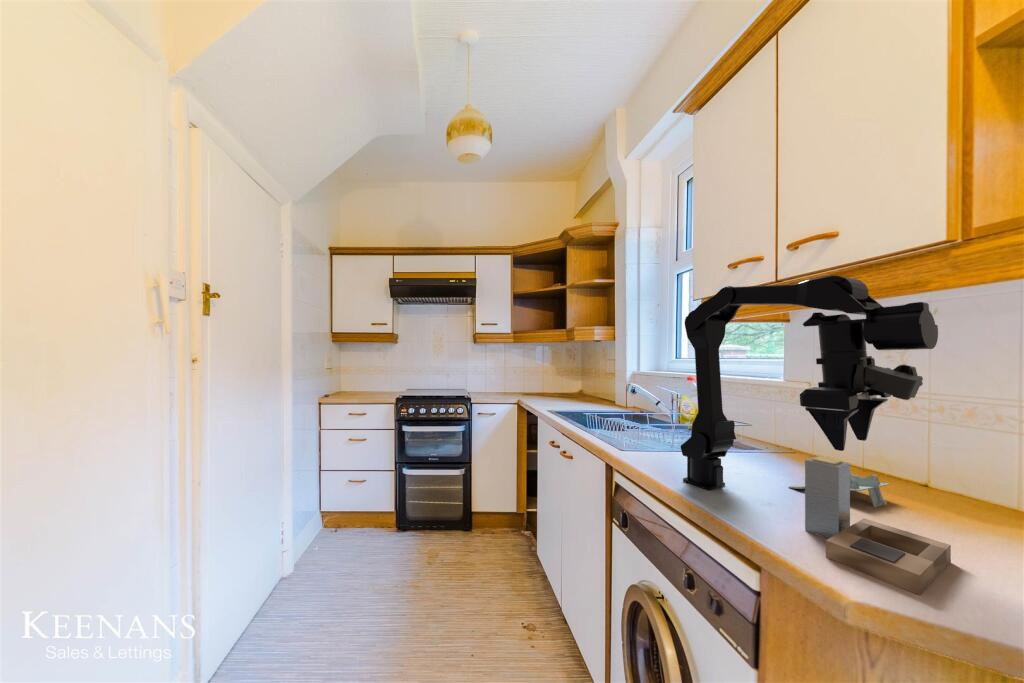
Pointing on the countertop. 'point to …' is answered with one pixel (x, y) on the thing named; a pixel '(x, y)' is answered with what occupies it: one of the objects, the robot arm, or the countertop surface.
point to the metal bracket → (862, 487)
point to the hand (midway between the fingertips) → (851, 445)
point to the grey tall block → (827, 496)
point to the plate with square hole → (890, 554)
